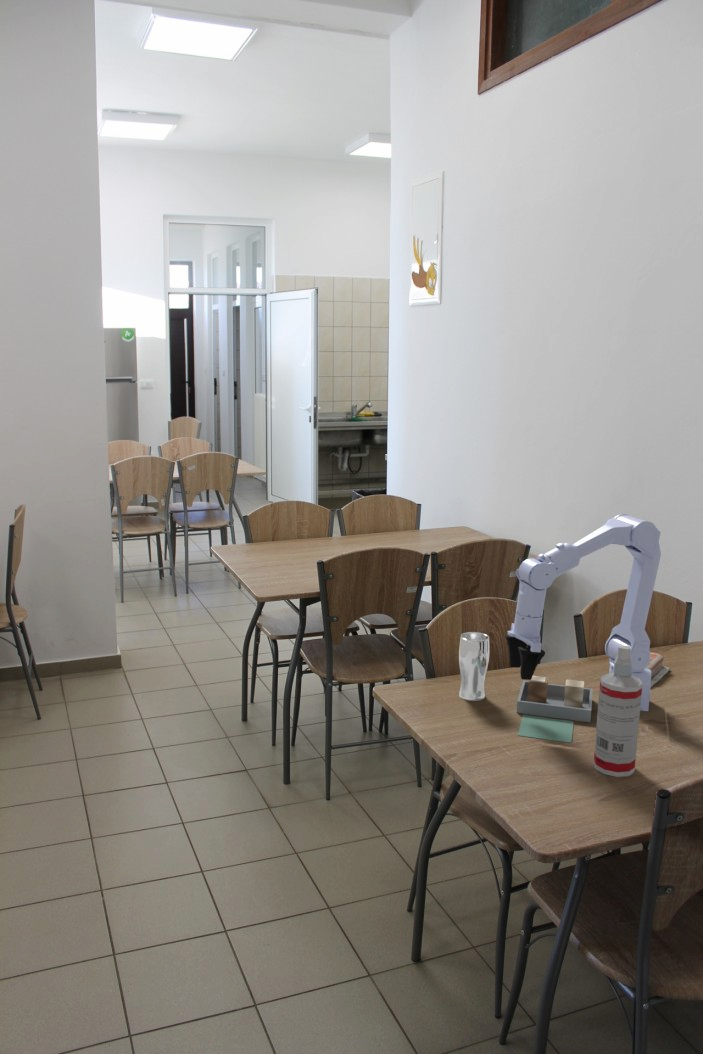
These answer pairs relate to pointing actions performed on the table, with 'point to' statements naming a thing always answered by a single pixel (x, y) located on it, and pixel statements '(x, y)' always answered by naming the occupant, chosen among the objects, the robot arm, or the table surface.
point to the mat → (546, 728)
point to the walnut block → (538, 689)
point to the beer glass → (473, 665)
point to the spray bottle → (618, 718)
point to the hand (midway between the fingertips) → (520, 672)
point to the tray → (555, 704)
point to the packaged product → (656, 667)
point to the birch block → (574, 693)
